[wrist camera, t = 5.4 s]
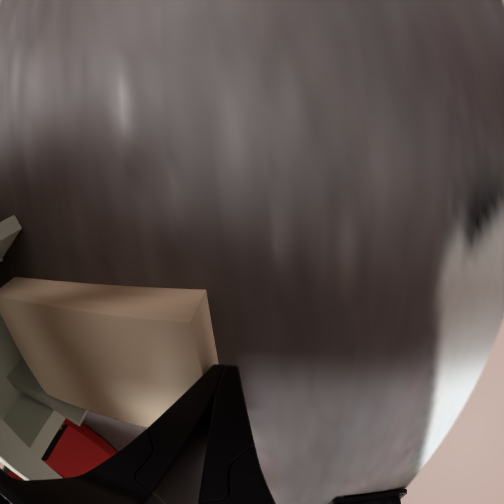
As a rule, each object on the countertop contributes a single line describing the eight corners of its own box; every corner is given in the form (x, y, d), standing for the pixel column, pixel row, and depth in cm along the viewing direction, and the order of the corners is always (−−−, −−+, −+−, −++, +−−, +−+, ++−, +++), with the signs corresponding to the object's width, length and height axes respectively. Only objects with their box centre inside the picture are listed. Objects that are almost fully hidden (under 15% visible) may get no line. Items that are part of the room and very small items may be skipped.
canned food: (56, 398, 15) (-12, 511, 5) (140, 461, 17) (98, 571, 7) (33, 410, 17) (-18, 492, 7) (99, 462, 19) (62, 545, 9)
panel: (210, 282, 10) (190, 322, 8) (229, 401, 12) (220, 440, 10) (20, 272, 11) (-8, 294, 9) (64, 369, 13) (46, 394, 12)
